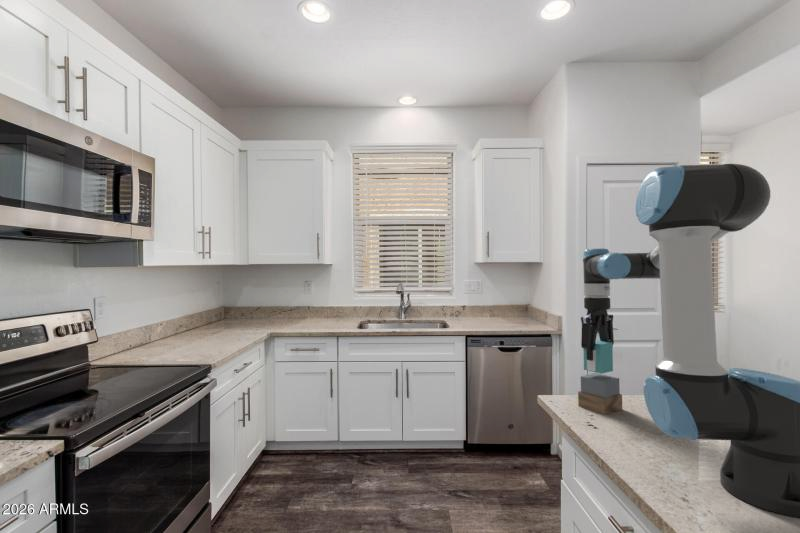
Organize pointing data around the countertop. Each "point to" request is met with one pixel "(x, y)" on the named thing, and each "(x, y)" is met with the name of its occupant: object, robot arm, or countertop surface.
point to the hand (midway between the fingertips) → (598, 368)
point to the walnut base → (600, 403)
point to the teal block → (602, 357)
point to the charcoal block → (600, 385)
